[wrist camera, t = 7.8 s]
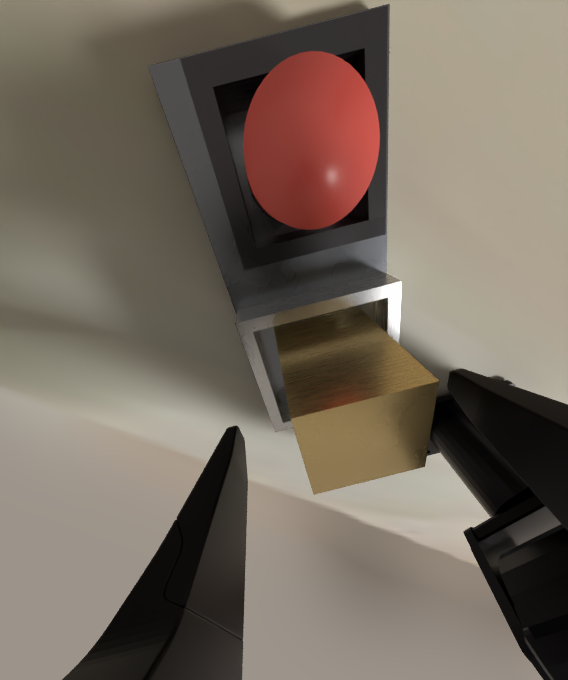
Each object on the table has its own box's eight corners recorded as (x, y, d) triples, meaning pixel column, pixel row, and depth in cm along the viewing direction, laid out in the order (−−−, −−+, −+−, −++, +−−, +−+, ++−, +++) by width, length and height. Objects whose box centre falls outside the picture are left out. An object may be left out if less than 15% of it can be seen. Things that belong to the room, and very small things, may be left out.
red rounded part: (347, 212, 9) (380, 213, 7) (260, 234, 9) (263, 242, 7) (339, 88, 7) (379, 32, 5) (231, 115, 7) (222, 73, 5)
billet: (361, 372, 14) (425, 466, 9) (290, 390, 14) (313, 494, 9) (357, 306, 12) (439, 380, 7) (273, 328, 12) (290, 418, 7)
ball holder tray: (380, 381, 16) (404, 413, 13) (272, 409, 16) (275, 446, 13) (379, 18, 8) (441, -72, 5) (155, 76, 8) (109, 13, 5)
